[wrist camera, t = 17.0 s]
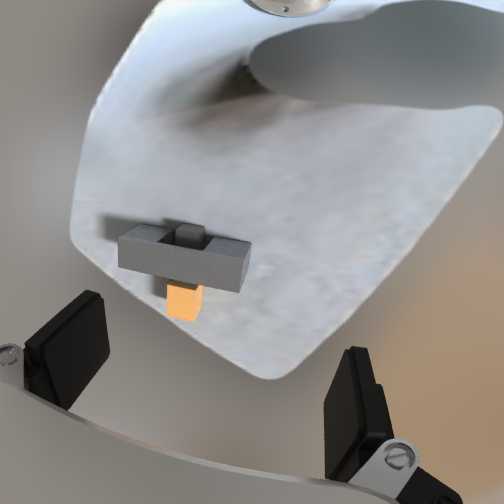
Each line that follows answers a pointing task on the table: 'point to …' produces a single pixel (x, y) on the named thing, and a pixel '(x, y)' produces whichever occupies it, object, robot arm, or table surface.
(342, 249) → the table surface
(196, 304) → the cable plug
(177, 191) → the table surface
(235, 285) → the grey notched block
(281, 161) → the table surface
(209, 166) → the table surface
